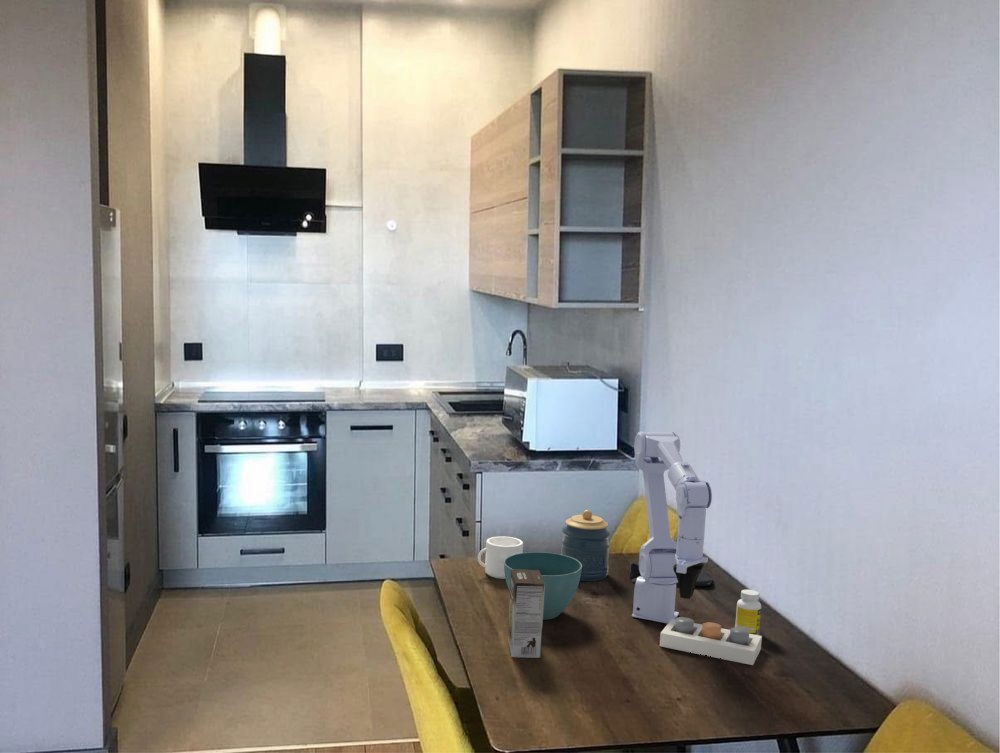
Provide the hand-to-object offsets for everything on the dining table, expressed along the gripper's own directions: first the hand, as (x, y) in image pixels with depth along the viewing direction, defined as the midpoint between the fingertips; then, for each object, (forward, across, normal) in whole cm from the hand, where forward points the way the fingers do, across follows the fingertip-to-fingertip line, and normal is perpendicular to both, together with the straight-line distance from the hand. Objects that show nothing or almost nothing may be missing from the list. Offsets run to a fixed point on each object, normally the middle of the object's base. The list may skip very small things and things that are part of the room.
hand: (686, 596), depth 211 cm
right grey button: (+8, 0, -12) cm, 15 cm away
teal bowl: (+11, 0, +34) cm, 36 cm away
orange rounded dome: (+8, 0, -6) cm, 10 cm away
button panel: (+10, 0, -6) cm, 12 cm away
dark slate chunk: (+11, +44, +14) cm, 47 cm away
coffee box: (+11, -22, +29) cm, 38 cm away
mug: (+11, +21, +54) cm, 59 cm away
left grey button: (+8, 0, 0) cm, 8 cm away
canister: (+11, +34, +35) cm, 50 cm away
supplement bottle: (+11, +13, -12) cm, 20 cm away
